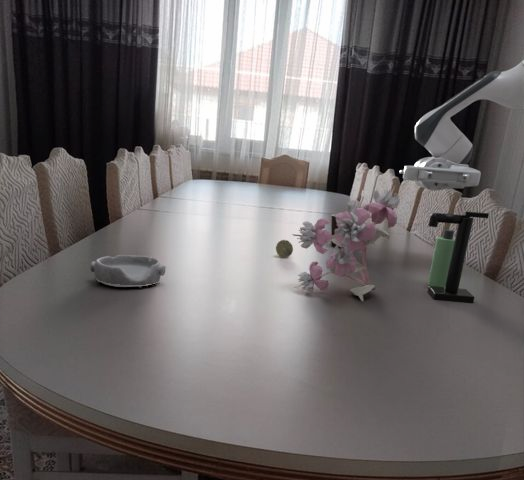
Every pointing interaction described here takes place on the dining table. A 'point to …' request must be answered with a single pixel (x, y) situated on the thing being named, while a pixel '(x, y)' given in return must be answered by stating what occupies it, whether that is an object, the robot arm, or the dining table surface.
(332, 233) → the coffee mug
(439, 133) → the robot arm
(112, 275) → the dish
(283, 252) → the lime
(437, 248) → the soap bottle
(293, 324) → the dining table surface
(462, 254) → the faucet
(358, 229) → the flower
